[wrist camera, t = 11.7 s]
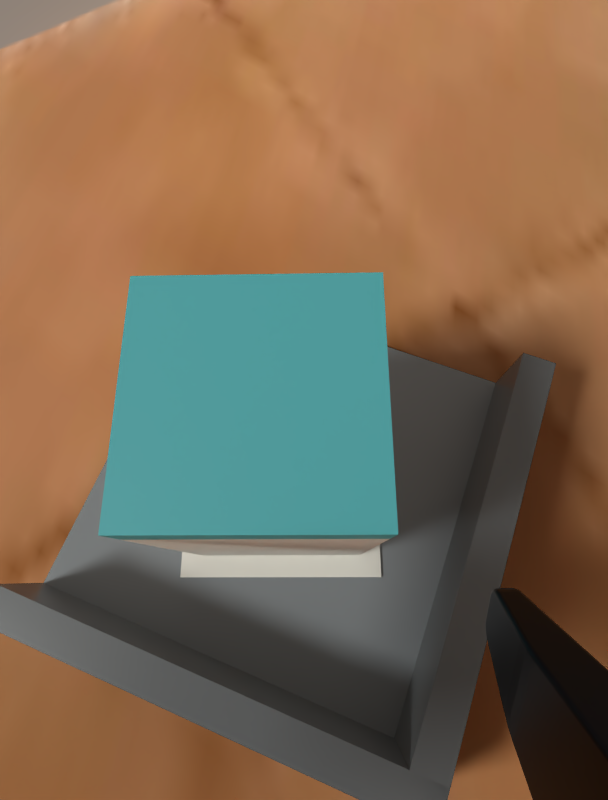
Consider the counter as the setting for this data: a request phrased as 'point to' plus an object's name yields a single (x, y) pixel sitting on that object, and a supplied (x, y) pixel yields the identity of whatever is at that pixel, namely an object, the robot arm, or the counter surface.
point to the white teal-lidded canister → (253, 416)
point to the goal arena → (321, 603)
